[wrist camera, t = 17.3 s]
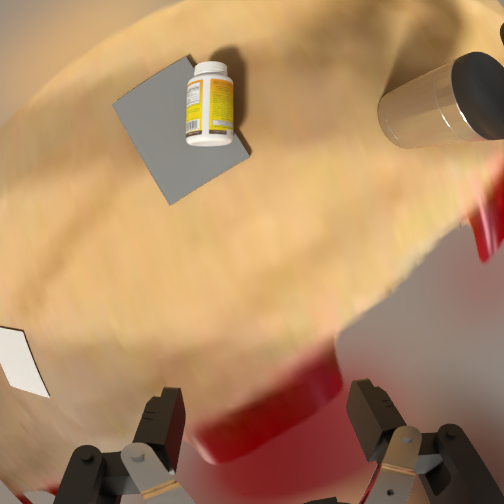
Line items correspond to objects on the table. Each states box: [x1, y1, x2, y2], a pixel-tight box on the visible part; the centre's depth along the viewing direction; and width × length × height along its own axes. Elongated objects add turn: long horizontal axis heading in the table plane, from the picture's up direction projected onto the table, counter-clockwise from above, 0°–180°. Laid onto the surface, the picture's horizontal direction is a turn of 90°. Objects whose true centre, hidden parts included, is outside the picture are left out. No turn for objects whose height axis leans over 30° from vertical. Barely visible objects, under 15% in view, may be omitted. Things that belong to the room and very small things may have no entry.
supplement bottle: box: [186, 61, 233, 146], centre depth 31 cm, size 6×6×10 cm
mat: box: [112, 57, 250, 205], centre depth 34 cm, size 12×17×1 cm
